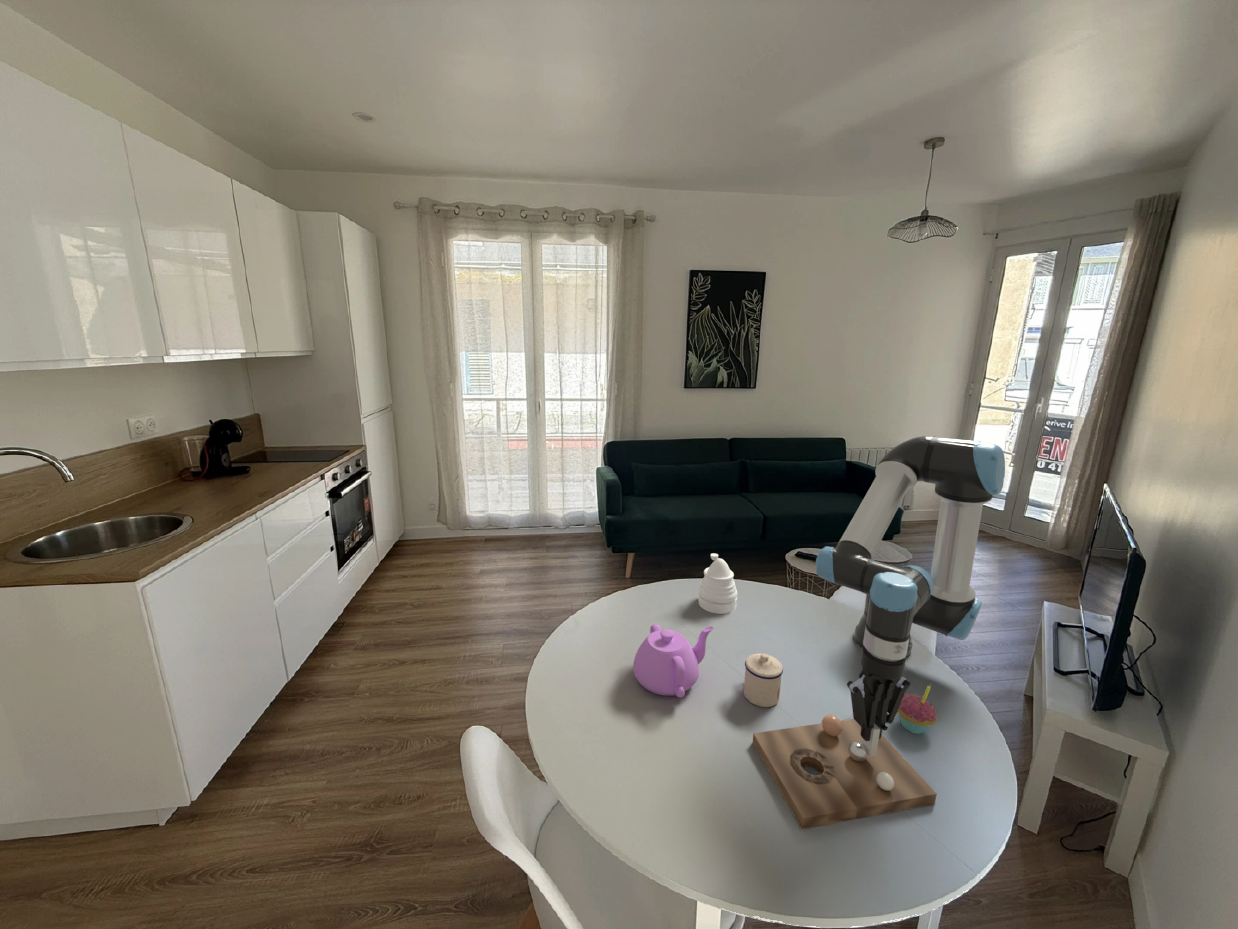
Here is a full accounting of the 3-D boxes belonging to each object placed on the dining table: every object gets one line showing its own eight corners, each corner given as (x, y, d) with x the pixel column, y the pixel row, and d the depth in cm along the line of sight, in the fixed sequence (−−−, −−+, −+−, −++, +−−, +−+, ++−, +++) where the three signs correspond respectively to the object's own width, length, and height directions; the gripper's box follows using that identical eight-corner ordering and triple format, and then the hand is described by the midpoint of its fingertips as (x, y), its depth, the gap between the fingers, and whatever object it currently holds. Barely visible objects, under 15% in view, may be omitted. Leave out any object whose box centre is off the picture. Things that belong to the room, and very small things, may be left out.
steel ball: (855, 735, 100) (841, 745, 100) (866, 748, 96) (853, 759, 96) (861, 744, 101) (848, 755, 101) (873, 758, 98) (860, 769, 97)
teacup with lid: (786, 707, 117) (790, 666, 114) (749, 709, 116) (753, 668, 113) (767, 675, 128) (770, 636, 125) (734, 677, 127) (736, 638, 125)
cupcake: (928, 718, 114) (937, 674, 111) (939, 745, 106) (948, 698, 103) (888, 709, 116) (895, 666, 114) (895, 735, 109) (903, 689, 106)
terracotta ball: (833, 725, 108) (835, 709, 107) (845, 739, 104) (847, 723, 103) (816, 727, 107) (818, 711, 106) (828, 742, 103) (830, 725, 102)
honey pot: (698, 611, 159) (700, 562, 155) (698, 593, 171) (700, 546, 167) (737, 615, 157) (741, 565, 153) (735, 596, 169) (738, 549, 165)
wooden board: (864, 726, 111) (866, 717, 110) (934, 804, 92) (936, 794, 91) (752, 742, 106) (753, 733, 105) (801, 829, 87) (803, 818, 86)
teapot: (730, 697, 120) (734, 649, 116) (649, 715, 114) (650, 665, 110) (693, 646, 140) (695, 604, 137) (622, 659, 134) (622, 615, 131)
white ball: (885, 779, 94) (887, 767, 94) (896, 793, 91) (898, 780, 91) (871, 782, 94) (873, 769, 93) (882, 795, 91) (884, 782, 90)
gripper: (867, 666, 89) (852, 771, 94) (928, 659, 91) (909, 761, 97) (842, 643, 96) (829, 741, 101) (898, 636, 98) (882, 732, 104)
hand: (868, 751), depth 99 cm, fingers closed
